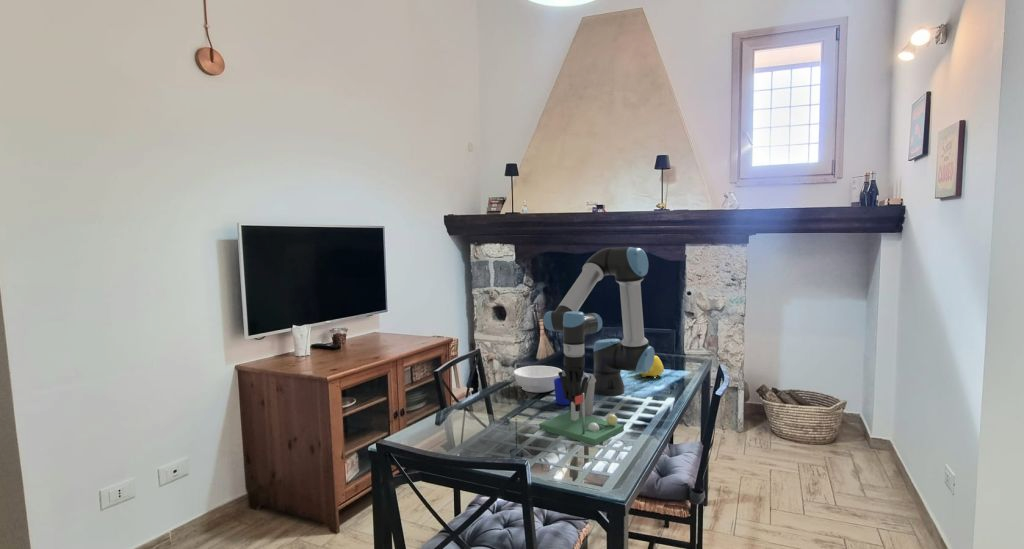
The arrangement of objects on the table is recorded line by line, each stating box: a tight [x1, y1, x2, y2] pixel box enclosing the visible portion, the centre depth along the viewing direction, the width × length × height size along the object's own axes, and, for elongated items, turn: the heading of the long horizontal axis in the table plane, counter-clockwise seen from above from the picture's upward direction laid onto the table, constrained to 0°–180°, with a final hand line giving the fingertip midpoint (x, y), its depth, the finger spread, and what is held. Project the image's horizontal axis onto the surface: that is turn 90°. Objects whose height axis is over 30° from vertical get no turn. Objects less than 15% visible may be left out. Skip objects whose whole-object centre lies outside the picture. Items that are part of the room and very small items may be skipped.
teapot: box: [638, 355, 665, 378], centre depth 268 cm, size 20×15×12 cm
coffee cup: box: [579, 372, 596, 416], centre depth 213 cm, size 10×10×15 cm
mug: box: [554, 378, 569, 406], centre depth 226 cm, size 8×12×10 cm
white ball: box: [588, 423, 599, 431], centre depth 191 cm, size 4×4×4 cm
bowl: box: [513, 365, 563, 393], centre depth 249 cm, size 22×22×8 cm
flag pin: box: [575, 393, 585, 434], centre depth 184 cm, size 5×1×14 cm, turn 137°
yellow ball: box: [605, 413, 619, 426], centre depth 193 cm, size 4×4×4 cm
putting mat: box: [538, 411, 625, 446], centre depth 195 cm, size 18×24×2 cm
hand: (575, 419), depth 197 cm, fingers closed
